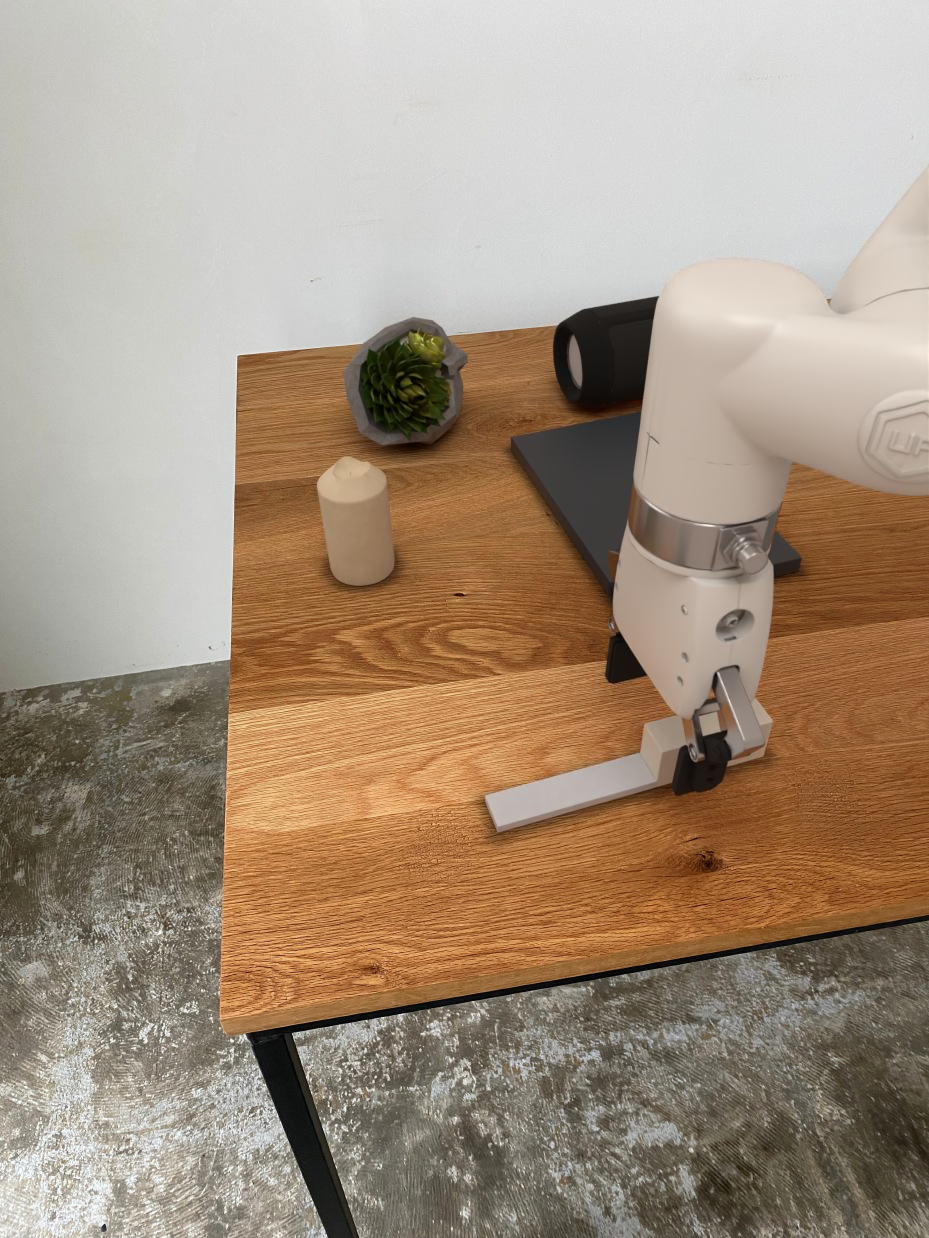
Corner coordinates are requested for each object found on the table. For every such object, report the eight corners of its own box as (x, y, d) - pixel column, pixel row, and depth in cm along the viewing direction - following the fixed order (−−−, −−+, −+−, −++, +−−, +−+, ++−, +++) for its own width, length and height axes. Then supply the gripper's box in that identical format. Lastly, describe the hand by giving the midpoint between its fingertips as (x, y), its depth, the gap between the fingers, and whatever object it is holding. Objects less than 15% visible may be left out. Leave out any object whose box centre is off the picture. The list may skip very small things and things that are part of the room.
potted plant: (477, 362, 99) (518, 391, 86) (399, 454, 101) (426, 496, 88) (392, 282, 94) (422, 300, 81) (311, 381, 96) (327, 414, 83)
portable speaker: (584, 429, 95) (589, 337, 88) (547, 385, 102) (550, 296, 95) (803, 385, 100) (824, 294, 94) (754, 346, 107) (771, 259, 101)
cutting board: (657, 420, 96) (659, 407, 95) (798, 571, 77) (802, 557, 76) (510, 450, 93) (510, 436, 92) (621, 614, 74) (622, 600, 73)
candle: (324, 554, 81) (308, 455, 74) (386, 540, 82) (375, 442, 75) (338, 592, 77) (321, 492, 70) (402, 578, 78) (392, 478, 72)
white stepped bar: (743, 729, 65) (753, 693, 62) (763, 756, 63) (774, 721, 61) (484, 801, 61) (483, 766, 59) (497, 833, 59) (497, 798, 57)
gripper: (865, 601, 43) (784, 820, 55) (688, 418, 55) (653, 629, 67) (720, 636, 42) (668, 854, 53) (571, 440, 54) (555, 652, 65)
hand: (659, 728), depth 60 cm, fingers open, 9 cm apart
